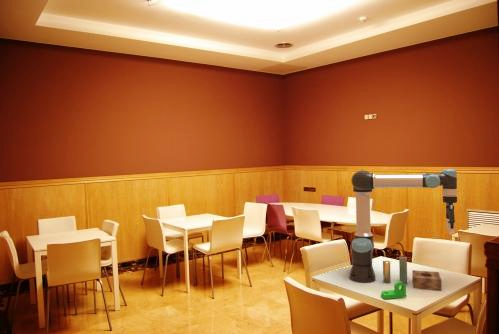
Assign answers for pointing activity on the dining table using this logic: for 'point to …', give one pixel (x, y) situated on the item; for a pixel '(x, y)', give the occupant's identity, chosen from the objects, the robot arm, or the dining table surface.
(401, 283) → the mechanical part
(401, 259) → the square bit
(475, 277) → the dining table surface
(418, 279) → the bore block
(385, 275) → the round bit
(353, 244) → the robot arm
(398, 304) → the dining table surface
